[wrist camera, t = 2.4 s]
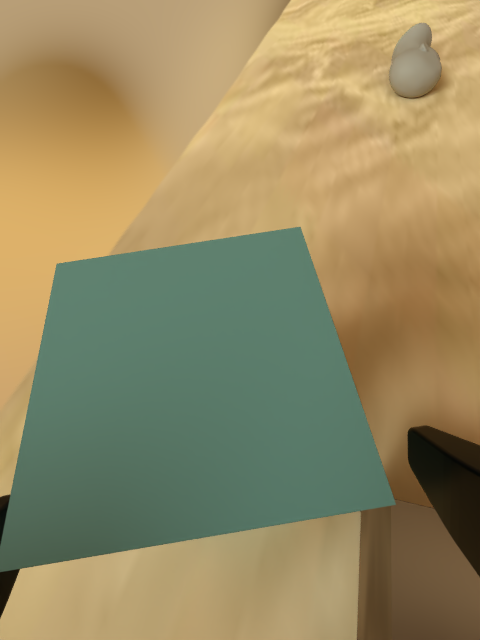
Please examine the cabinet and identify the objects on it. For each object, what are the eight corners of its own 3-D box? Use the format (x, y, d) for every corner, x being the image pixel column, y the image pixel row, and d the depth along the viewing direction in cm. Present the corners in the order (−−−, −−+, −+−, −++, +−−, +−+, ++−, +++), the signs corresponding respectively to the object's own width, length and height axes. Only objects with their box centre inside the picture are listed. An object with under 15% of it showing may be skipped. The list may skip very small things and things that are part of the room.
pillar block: (300, 511, 15) (396, 504, 4) (191, 529, 15) (-5, 573, 4) (277, 404, 17) (300, 226, 7) (185, 419, 17) (56, 263, 7)
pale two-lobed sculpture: (421, 119, 32) (375, 97, 32) (425, 79, 36) (385, 59, 36) (456, 72, 29) (405, 47, 28) (457, 33, 32) (412, 11, 32)
